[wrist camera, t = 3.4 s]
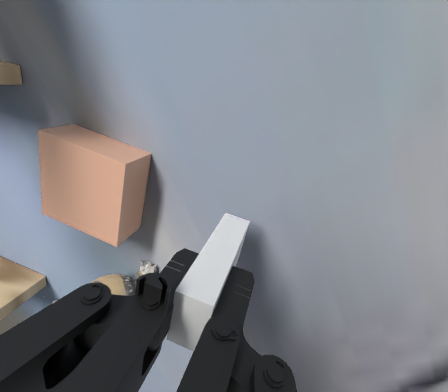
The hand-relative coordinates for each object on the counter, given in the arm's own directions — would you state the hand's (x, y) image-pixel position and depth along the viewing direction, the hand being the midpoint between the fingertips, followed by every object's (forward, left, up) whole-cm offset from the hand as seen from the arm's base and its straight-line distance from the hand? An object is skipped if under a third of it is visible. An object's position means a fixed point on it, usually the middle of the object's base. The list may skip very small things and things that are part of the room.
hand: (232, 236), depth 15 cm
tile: (+10, 0, -2) cm, 10 cm away
